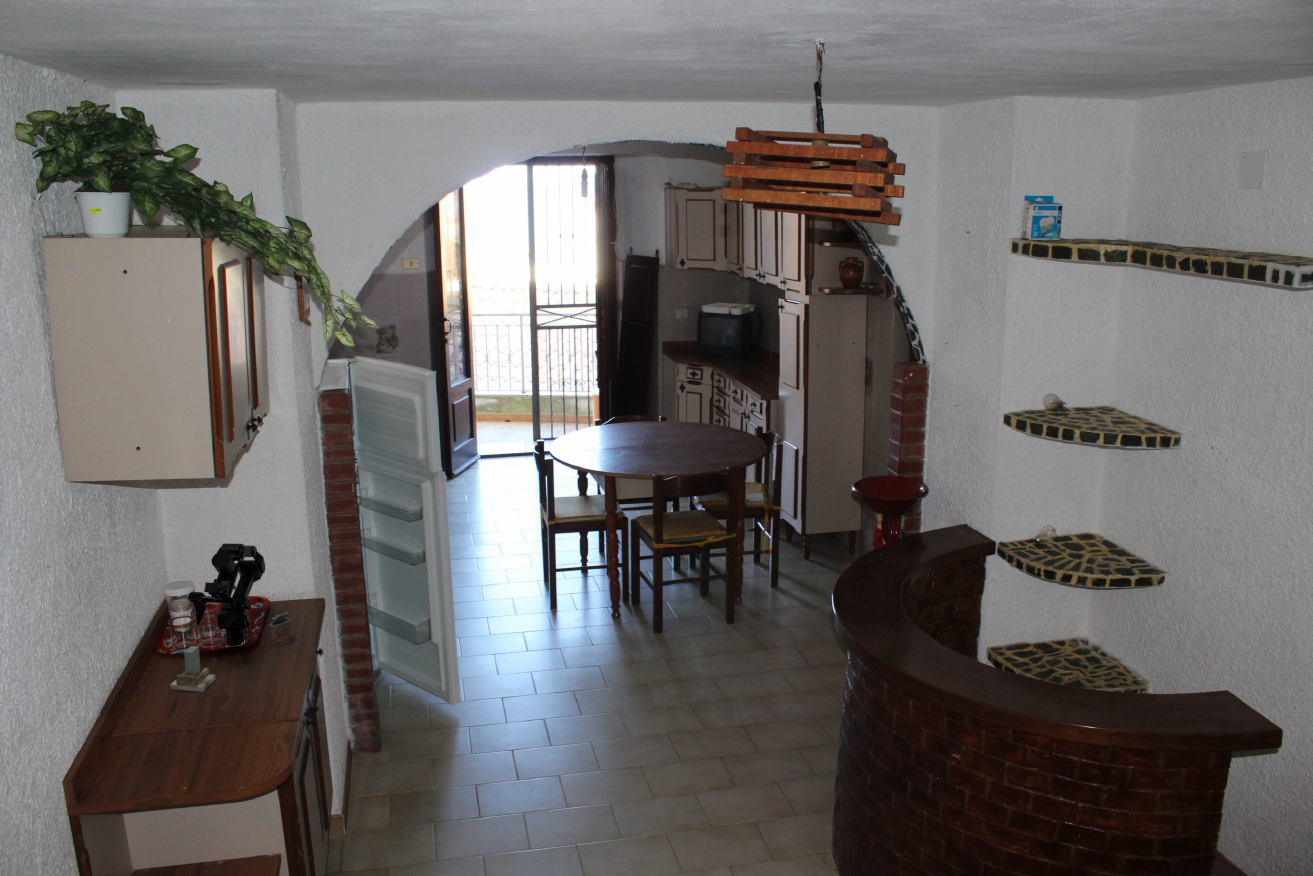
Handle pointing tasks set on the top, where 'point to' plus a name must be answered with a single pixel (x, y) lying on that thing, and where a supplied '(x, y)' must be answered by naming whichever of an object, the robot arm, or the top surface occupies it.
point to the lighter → (280, 630)
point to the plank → (192, 661)
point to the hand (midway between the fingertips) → (211, 626)
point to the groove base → (193, 681)
